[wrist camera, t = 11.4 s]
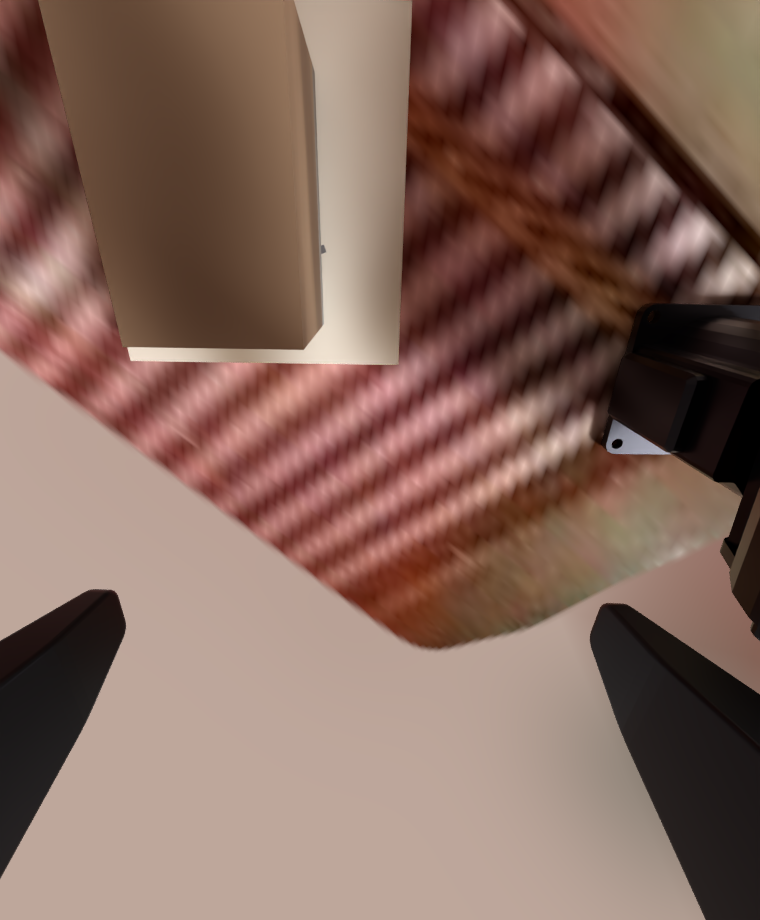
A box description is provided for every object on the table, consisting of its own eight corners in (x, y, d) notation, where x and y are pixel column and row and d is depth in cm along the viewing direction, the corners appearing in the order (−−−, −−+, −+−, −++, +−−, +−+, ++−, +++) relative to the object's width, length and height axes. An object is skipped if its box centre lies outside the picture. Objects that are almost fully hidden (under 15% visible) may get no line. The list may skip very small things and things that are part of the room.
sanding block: (314, 71, 12) (280, -47, 7) (324, 324, 15) (303, 349, 10) (157, 66, 12) (23, -58, 7) (198, 321, 15) (122, 347, 10)
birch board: (406, 37, 13) (411, 0, 11) (395, 354, 17) (398, 364, 16) (87, 25, 13) (40, -14, 11) (156, 350, 17) (130, 360, 15)
